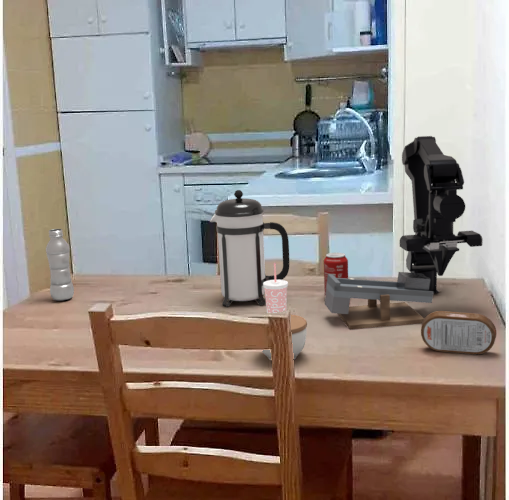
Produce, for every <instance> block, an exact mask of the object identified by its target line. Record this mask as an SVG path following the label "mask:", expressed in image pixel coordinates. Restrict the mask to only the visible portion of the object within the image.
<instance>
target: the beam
mask: <svg viewBox="0 0 509 500" xmlns="http://www.w3.org/2000/svg"><path fill="white" fill-rule="evenodd" d="M396 287H397V281H393V280H378V279H377V280H375V279H364V278H363V279H360V278H354V277H351V278H350V277H348V279H347V278H336V277H335V276H334V275H333V274H328V277H327V285H326V295H325V294H324V306H325V307H326V308H327V310H328V311H329V312H330V313H331V314H336V315H338V314H348V312H349V307H350V304H351V303H350V302H351V299H360V300H361V299H363V300H368V299H375V300H377V301H378V302H380V295H387V294H389V295H390V301H394V302H407V303H408V302H411V303H413V302H414V303H426V304H432V303H433V298H434V294H435V293H434V292H433V291H423V290H407V289H397V288H396Z"/></svg>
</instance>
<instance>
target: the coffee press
mask: <svg viewBox="0 0 509 500" xmlns="http://www.w3.org/2000/svg"><path fill="white" fill-rule="evenodd" d="M233 195H234V197H235V198H232V199H231V198H230V199H226V200H223V201H222V202H220V203H218V204H217V206H216V210H214V214H213V216H212V217H211V219H210V220H209V223H216V233H217V243H218V244H217V245H218V259H219V263H218V264H219V275H220V276H219V277H220V291H221V295H222V296H223V300H222V304H221V305H222V307H224V308H229V307H230V306H231V304H232V303H233V302H248V301H256V303H257V305H259V306H260V307H261V306H264V305H266V298H265V297H264V296H265V289H264V287H263V286H264V285H263V283H264V282H265V281H268V280H274V275H266V266H265V265H266V264H265V263H266V261H265V240H264V239H265V238H264V230H275V231H277V232H278V233H279V234H280V237H281V247H282V248H281V249H282V250H281V251H282V269H281V271H280V272H279V273H278V274H276V280H285V278H286V277H287V276H288V273H289V271H290V243H289V236H288V232H287V229H285V227H284V226H283V225H282V224H280V223H277V222H274V221H273V222H272V221H271V222H264V218H263V217H264V215H263V214H264V212H265V208H264V207H263V206H262V204H261V203H260V202H259V200H256V199H253V198H245V197H244V198H242V197H243V196H244V193H243V191H242V190H241V189H237V190H235V191H234V194H233Z"/></svg>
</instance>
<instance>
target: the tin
mask: <svg viewBox="0 0 509 500" xmlns="http://www.w3.org/2000/svg"><path fill="white" fill-rule="evenodd" d="M420 327H421V328H420V336H421V339H422V341H423V342H424V344H425V345H426V346H427V347H428V348H429V349H431V350H433V351H437V352H440V353H441V352H442V353H452V354H463V353H465V355H474V354H478V355H482V354H485V353H487V352H488V351H490V350H491V349H492V347H493V346H494V344H495V342H496V338H497V328H496V326H495V324H494V322H493V320H491V319H490V318H489V317H488V316H485V315H483V314H481V313H473V312H472V313H471V312H460V311H459V312H457V311H445V310H437V311H433V312H431V313H429V314H427V315H426V316H425V317H424V320H423V322H422V323H421V326H420Z"/></svg>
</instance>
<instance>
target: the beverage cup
mask: <svg viewBox="0 0 509 500" xmlns="http://www.w3.org/2000/svg"><path fill="white" fill-rule="evenodd" d="M276 263H277V262H273V274H274V280H268V281H265V282H264V283H263V285H264V286H263V287H264V289H265V294H264V296H265V297H264V299H265V301H266V303H265V305H266V314H267V313H277V312H283V311H286V312H287V306H288V305H287V304H288V302H287V298H288V287H289V281H287V280H285V279H282V280H276V275H277V267H276V266H277V264H276Z"/></svg>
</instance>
